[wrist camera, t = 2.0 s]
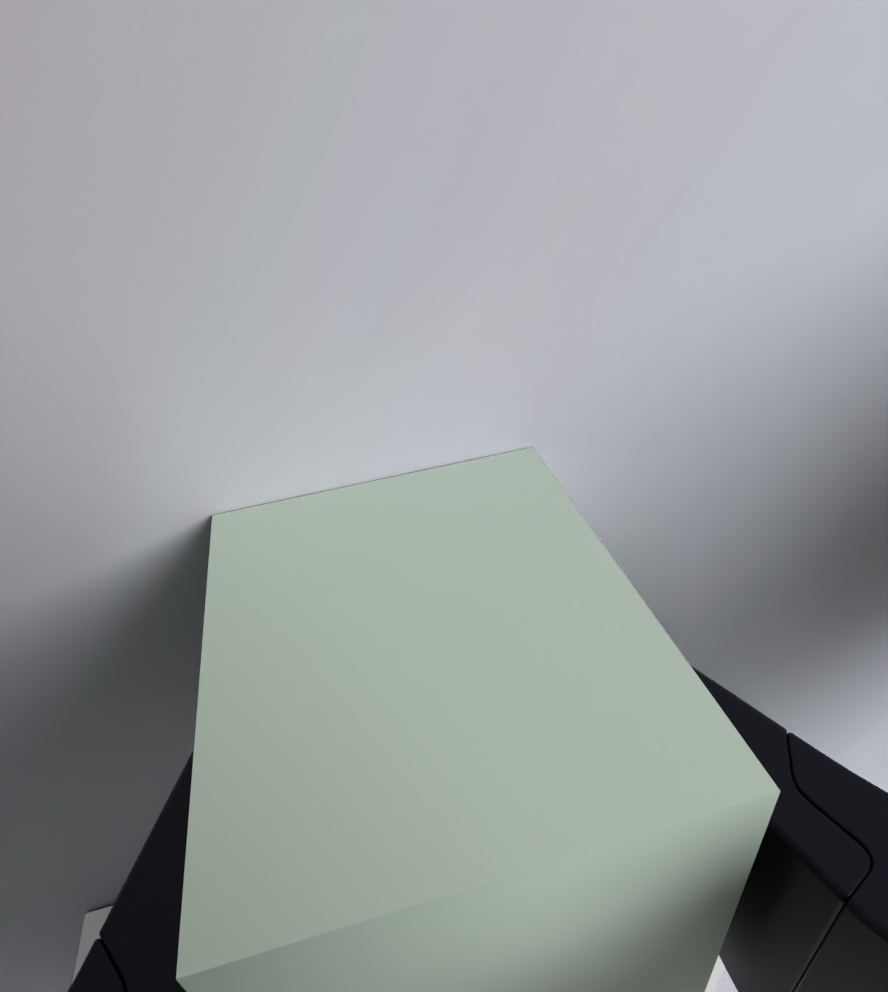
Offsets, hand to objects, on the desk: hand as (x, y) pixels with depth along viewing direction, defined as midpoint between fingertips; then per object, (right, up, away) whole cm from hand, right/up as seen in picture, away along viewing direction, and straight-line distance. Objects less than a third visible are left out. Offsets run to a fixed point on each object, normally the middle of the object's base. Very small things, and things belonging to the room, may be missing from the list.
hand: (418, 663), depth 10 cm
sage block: (0, +1, +1) cm, 2 cm away
